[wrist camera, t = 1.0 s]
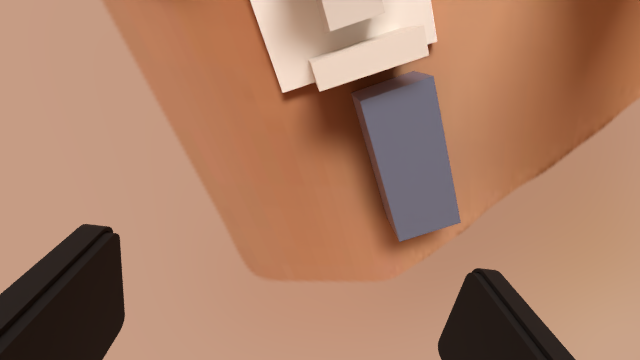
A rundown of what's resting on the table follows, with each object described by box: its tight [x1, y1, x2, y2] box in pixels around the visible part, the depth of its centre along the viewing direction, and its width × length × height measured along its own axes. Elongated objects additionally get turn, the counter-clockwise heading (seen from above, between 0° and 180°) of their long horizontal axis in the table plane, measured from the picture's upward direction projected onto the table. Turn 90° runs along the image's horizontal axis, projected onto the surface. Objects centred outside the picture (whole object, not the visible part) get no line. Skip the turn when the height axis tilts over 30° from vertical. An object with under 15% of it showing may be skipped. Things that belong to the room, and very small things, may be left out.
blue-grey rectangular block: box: [351, 71, 461, 242], centre depth 31 cm, size 6×14×5 cm, turn 18°
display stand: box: [250, 0, 437, 93], centre depth 24 cm, size 14×10×7 cm
